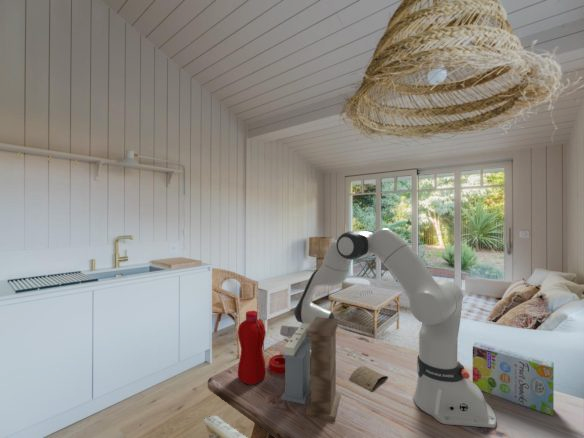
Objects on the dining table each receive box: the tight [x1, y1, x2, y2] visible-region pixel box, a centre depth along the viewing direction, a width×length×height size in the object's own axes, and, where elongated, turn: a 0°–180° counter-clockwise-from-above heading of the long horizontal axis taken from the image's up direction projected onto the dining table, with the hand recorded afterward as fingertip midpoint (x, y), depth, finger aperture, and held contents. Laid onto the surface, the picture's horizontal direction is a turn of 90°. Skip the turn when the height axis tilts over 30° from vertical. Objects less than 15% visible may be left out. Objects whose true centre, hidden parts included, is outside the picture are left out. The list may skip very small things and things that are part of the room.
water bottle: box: [237, 310, 267, 386], centre depth 105 cm, size 9×11×25 cm
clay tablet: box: [348, 365, 386, 393], centre depth 105 cm, size 14×10×3 cm
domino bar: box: [284, 323, 310, 356], centre depth 98 cm, size 3×21×2 cm, turn 163°
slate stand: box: [281, 341, 311, 405], centre depth 98 cm, size 8×12×15 cm, turn 163°
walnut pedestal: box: [305, 317, 342, 422], centre depth 90 cm, size 9×12×26 cm
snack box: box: [472, 341, 555, 417], centre depth 94 cm, size 21×6×15 cm, turn 46°
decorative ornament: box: [268, 354, 285, 375], centre depth 114 cm, size 10×10×3 cm
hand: (302, 330), depth 103 cm, fingers closed on domino bar, 3 cm apart
